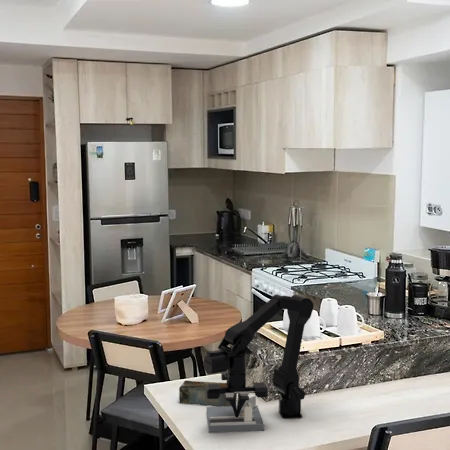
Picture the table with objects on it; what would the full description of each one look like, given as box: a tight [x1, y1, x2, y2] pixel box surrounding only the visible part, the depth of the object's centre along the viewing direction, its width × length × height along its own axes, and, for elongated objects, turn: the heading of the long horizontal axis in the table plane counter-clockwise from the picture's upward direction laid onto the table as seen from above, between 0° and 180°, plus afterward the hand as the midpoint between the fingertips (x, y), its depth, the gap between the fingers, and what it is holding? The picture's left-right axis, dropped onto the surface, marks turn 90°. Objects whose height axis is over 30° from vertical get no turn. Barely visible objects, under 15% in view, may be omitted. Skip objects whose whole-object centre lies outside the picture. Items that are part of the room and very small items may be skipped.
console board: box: [206, 404, 265, 434], centre depth 200 cm, size 17×15×3 cm
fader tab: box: [243, 403, 252, 422], centre depth 196 cm, size 2×3×5 cm
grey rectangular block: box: [241, 393, 257, 410], centre depth 205 cm, size 5×2×4 cm, turn 135°
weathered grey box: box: [178, 380, 238, 407], centre depth 217 cm, size 8×19×7 cm, turn 78°
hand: (236, 416), depth 196 cm, fingers closed
